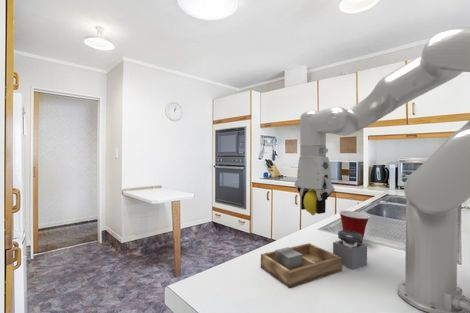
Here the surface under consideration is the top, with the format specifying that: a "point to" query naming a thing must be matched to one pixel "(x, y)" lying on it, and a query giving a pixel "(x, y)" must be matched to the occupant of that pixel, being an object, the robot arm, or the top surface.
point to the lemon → (310, 201)
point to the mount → (351, 254)
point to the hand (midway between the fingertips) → (312, 210)
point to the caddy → (300, 264)
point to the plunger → (350, 238)
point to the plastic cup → (354, 221)
